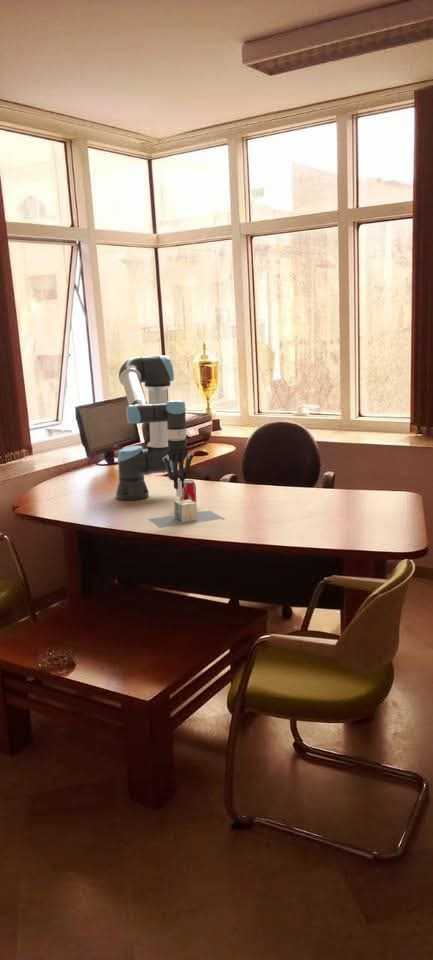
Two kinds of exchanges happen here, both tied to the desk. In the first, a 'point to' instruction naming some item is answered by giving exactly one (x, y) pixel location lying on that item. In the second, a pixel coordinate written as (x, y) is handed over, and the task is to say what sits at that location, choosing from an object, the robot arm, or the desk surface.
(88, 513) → the desk surface
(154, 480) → the desk surface
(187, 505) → the block
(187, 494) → the soda can
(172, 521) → the mat
